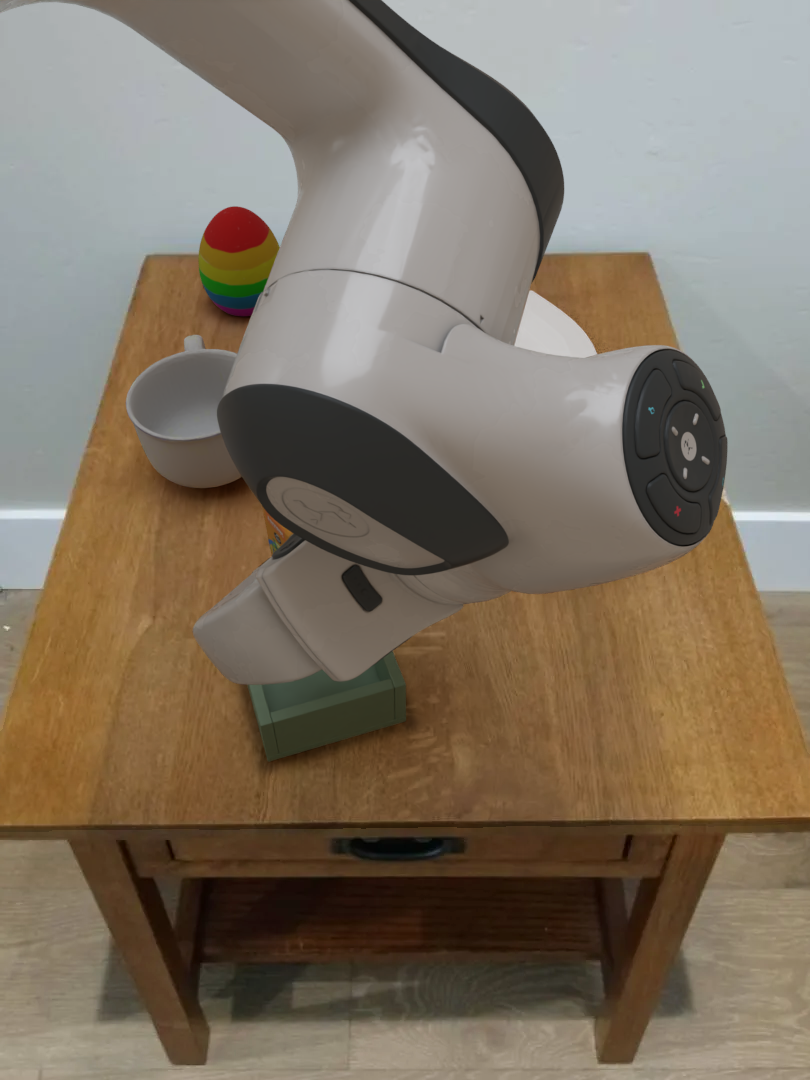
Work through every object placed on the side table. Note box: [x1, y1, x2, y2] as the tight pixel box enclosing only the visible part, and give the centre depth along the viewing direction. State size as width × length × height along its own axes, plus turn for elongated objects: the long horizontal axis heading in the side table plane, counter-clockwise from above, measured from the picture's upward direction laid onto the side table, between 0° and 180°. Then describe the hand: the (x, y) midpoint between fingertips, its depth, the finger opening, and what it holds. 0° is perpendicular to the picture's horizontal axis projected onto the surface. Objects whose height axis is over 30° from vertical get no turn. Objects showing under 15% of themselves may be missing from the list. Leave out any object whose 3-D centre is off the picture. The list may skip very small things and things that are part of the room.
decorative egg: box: [197, 205, 280, 317], centre depth 94 cm, size 8×8×10 cm
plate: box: [515, 289, 598, 358], centre depth 90 cm, size 19×19×2 cm
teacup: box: [125, 334, 242, 489], centre depth 81 cm, size 14×11×8 cm
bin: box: [246, 650, 407, 763], centre depth 67 cm, size 10×10×5 cm
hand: (296, 551), depth 58 cm, fingers closed on supplement box, 4 cm apart
